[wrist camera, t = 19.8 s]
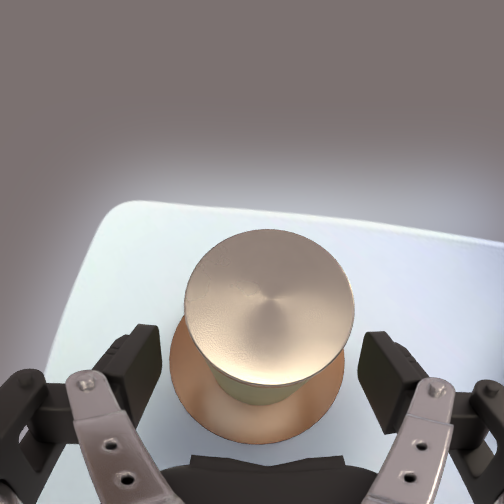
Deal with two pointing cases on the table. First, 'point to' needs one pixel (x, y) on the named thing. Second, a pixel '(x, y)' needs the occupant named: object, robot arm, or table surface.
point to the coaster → (241, 414)
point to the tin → (268, 313)
